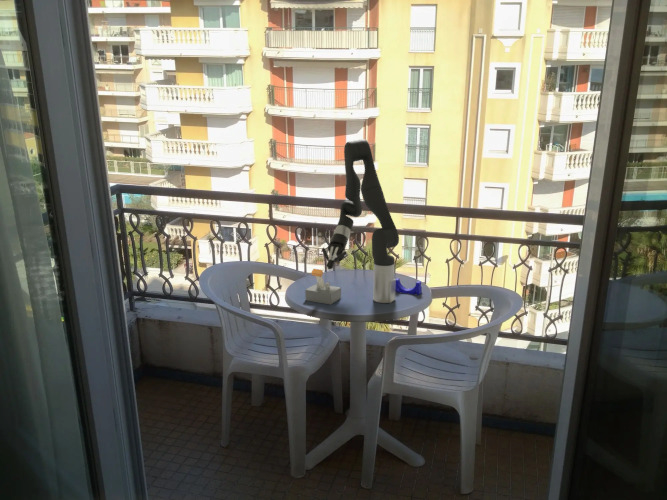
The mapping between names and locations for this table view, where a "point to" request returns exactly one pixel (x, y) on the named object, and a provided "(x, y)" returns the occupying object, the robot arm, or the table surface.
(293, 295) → the table surface
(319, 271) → the lever
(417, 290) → the cable clip
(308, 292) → the block
